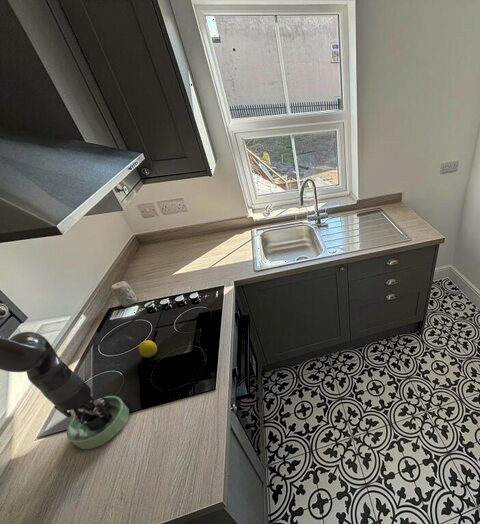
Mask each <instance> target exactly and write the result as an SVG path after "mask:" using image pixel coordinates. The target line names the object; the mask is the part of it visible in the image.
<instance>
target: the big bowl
mask: <svg viewBox="0 0 480 524" xmlns="http://www.w3.org/2000/svg"><path fill="white" fill-rule="evenodd" d="M102 398H103V397H99V398H97V399H96V400H101V399H102ZM104 398H106V399H107V400H108V402H109V403H110V404H111V406H112V407H113V408H112V410H111V411H110V413H111V415H112V418H111V420H110V421H109V423H107V424H106V425H104V426H103V427H102V428H100V429H98V430H95V431H89V430H88V429H86V428H85V427H84V426H83V425H82V424H81V423H80V420H79V419H78V418H74V417H72V420H71V421H70V423H69V424H68V426H67V430H66V437H67V439H68V441H69V442H71V443H72V444H73V445H74V446H76V447H77V448H79V449H81V450H92V449H96V448H98V447H100V446H103V445H104V444H106V443H108V442H109V441H111V440H112V439H113V438H115V436H117V435H118V434H119V433H120V432H121V431H122V429H123V428H124V427H125V426H126V424H127V422H128V420H129V417H130V408H129V407H128V405H127V404H126V403H125V402H124V400H123V399H122V398H120V397H118V396H116V395H106V396H104Z"/></svg>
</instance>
